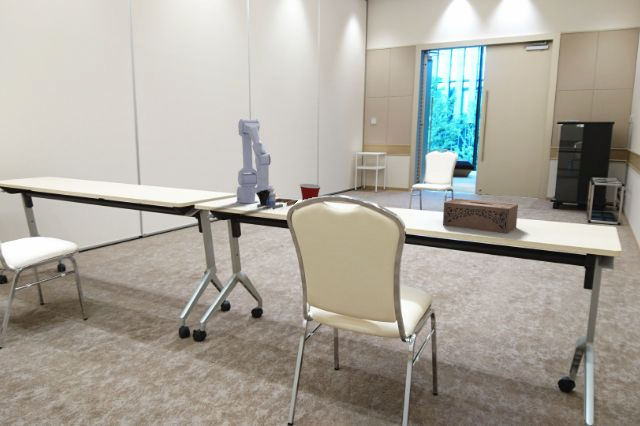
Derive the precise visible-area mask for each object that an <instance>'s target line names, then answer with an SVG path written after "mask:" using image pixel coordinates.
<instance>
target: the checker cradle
mask: <svg viewBox="0 0 640 426" xmlns="http://www.w3.org/2000/svg"><path fill="white" fill-rule="evenodd" d="M256 206H257V208H262V207H263V206H261V204H260V203H258V204H257V205H256ZM283 207H284V204H283V203H278V204H276V205H275V206H273V207H272V209H274V210H275V209H278V208H283Z"/></svg>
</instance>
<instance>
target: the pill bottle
mask: <svg viewBox="0 0 640 426" xmlns="http://www.w3.org/2000/svg"><path fill="white" fill-rule="evenodd" d="M268 191H270V194H269V196H268V198H267V202H266V206H264V207H265V208H273V206H275V205H277V203H276V199H277V198H276V197H277V196H276V192H275V188H274V187H273V188H271V189H268Z"/></svg>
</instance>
